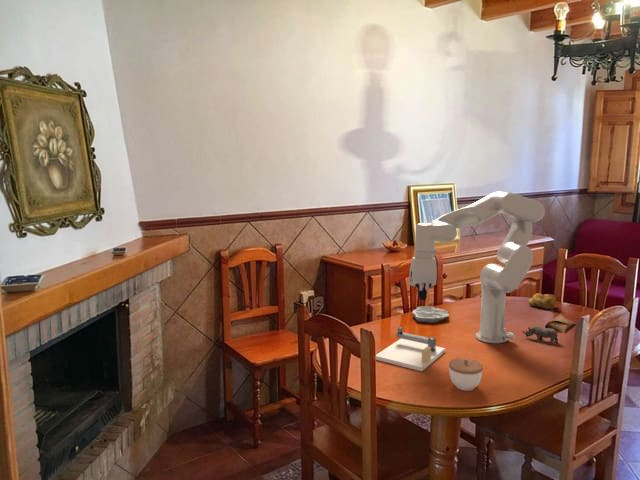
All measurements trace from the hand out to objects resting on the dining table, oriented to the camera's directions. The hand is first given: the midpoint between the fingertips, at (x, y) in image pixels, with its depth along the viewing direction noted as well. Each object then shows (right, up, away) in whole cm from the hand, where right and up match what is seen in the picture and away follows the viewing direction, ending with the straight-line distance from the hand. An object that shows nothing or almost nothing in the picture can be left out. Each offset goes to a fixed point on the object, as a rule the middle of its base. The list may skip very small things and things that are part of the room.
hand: (422, 299), depth 201 cm
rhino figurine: (+50, -18, +7) cm, 54 cm away
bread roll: (+72, -10, +54) cm, 90 cm away
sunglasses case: (+67, -16, +24) cm, 73 cm away
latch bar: (-3, -18, -3) cm, 18 cm away
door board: (-6, -21, -8) cm, 23 cm away
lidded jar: (+7, -25, -34) cm, 43 cm away
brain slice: (+12, -14, +38) cm, 42 cm away
